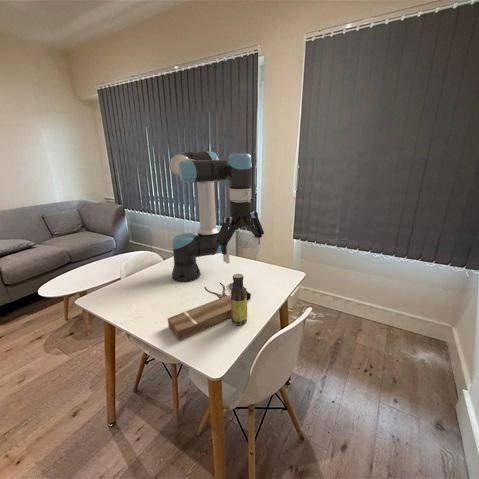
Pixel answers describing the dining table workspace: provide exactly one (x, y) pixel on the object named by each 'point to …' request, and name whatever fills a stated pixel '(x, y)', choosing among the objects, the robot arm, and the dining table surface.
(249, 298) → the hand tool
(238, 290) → the sauce bottle
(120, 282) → the dining table surface
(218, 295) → the pliers
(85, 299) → the dining table surface
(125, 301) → the dining table surface
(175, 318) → the walnut plank
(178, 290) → the dining table surface
